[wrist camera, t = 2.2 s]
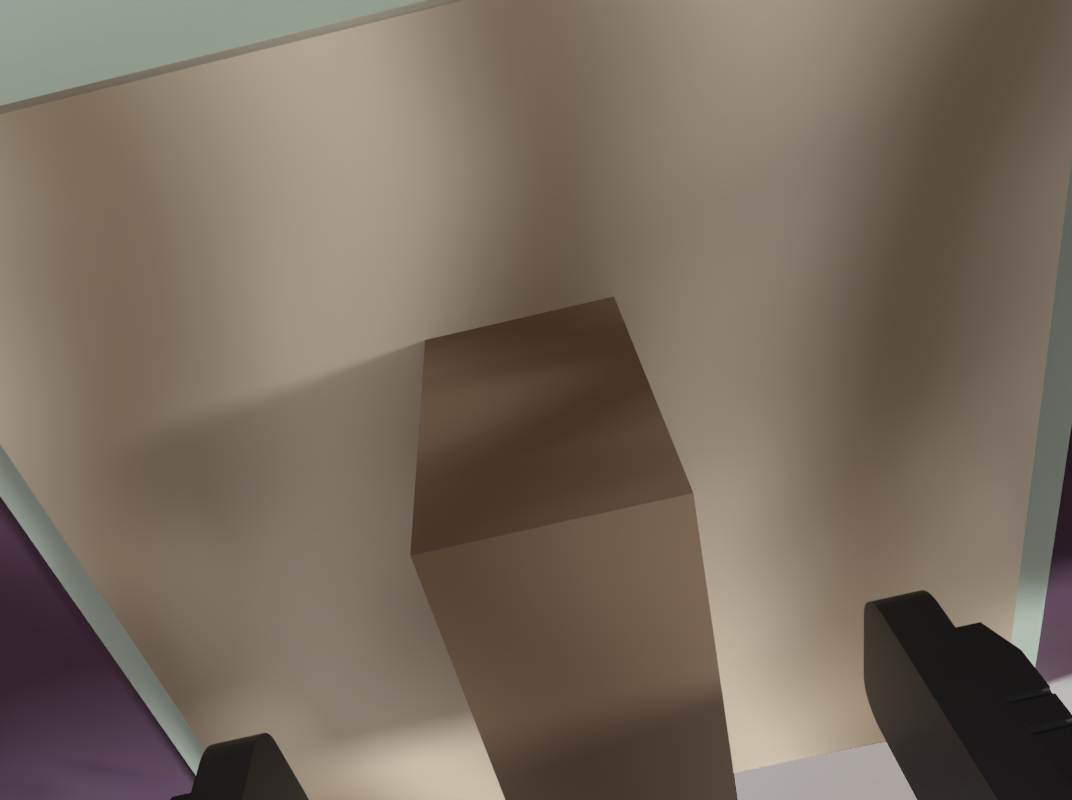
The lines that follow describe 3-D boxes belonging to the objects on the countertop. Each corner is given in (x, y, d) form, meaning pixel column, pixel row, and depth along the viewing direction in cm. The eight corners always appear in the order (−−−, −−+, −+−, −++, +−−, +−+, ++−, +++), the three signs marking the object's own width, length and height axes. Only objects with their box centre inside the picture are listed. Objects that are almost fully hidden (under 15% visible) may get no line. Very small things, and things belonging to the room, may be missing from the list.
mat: (1149, -314, 11) (1183, -323, 10) (1016, 683, 21) (1030, 703, 21) (-277, 47, 12) (-310, 53, 11) (262, 841, 22) (257, 863, 22)
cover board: (1051, -155, 11) (1579, -204, 6) (973, 675, 20) (1160, 953, 15) (-134, 139, 12) (-608, 328, 7) (292, 818, 21) (236, 1134, 15)
